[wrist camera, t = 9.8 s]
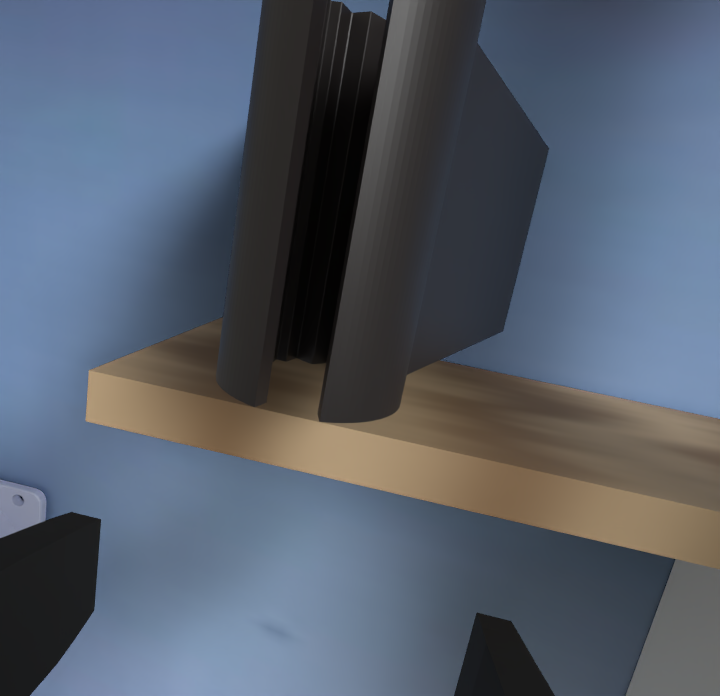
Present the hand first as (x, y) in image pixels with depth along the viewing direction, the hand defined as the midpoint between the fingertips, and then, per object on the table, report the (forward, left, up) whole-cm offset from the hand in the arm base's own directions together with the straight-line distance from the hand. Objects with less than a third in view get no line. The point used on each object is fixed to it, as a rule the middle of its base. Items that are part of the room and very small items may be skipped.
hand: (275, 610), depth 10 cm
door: (+4, +2, -10) cm, 11 cm away
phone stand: (0, +7, -11) cm, 13 cm away
